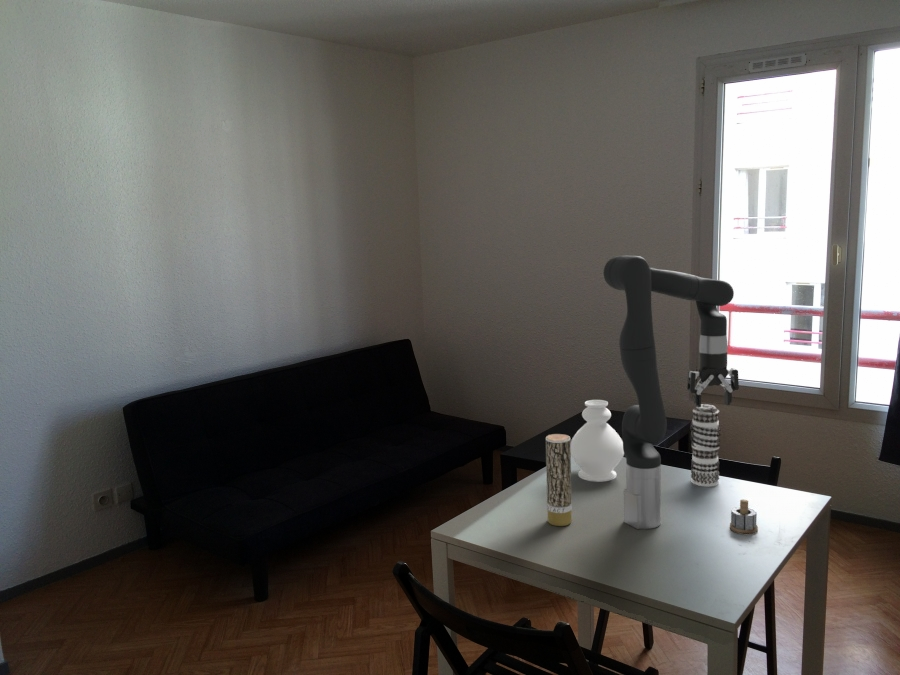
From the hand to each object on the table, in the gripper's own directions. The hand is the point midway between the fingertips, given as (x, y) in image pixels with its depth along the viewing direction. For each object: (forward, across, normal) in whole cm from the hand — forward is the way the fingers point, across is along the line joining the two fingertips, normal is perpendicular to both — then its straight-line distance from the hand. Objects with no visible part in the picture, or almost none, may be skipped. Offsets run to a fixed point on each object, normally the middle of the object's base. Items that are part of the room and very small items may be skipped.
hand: (712, 405), depth 210 cm
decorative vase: (+30, +25, -31) cm, 50 cm away
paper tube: (+30, +46, +4) cm, 56 cm away
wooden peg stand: (+30, -1, +18) cm, 35 cm away
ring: (+29, -1, +18) cm, 34 cm away
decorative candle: (+30, -6, -18) cm, 36 cm away
